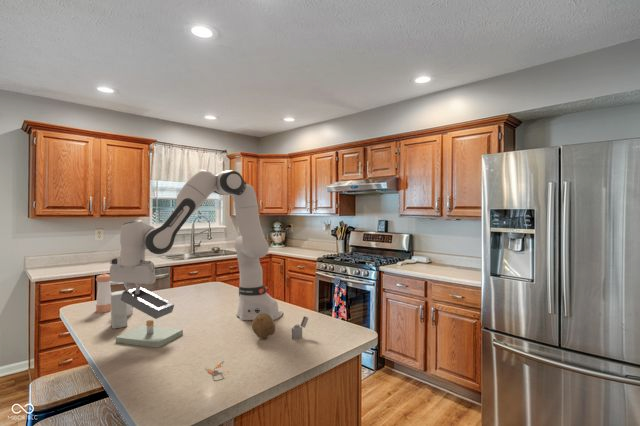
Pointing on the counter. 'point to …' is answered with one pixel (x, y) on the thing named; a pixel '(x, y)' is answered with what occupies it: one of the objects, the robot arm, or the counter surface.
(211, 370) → the key chain
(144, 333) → the plate
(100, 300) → the pepper shaker
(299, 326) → the lighter
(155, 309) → the grey rectangular frame
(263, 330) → the natural sponge
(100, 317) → the counter surface
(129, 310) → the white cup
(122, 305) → the skincare box
